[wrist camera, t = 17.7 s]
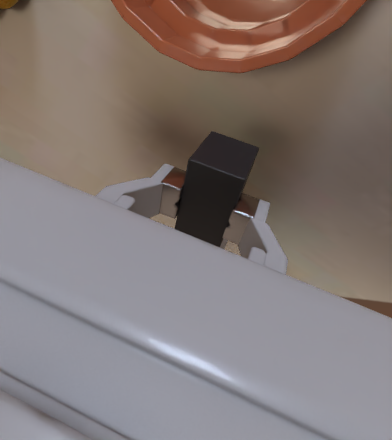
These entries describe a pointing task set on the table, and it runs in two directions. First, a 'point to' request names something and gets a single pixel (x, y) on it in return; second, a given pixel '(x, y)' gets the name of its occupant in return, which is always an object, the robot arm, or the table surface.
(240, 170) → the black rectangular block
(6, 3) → the bread roll
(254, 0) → the bowl
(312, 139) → the table surface
